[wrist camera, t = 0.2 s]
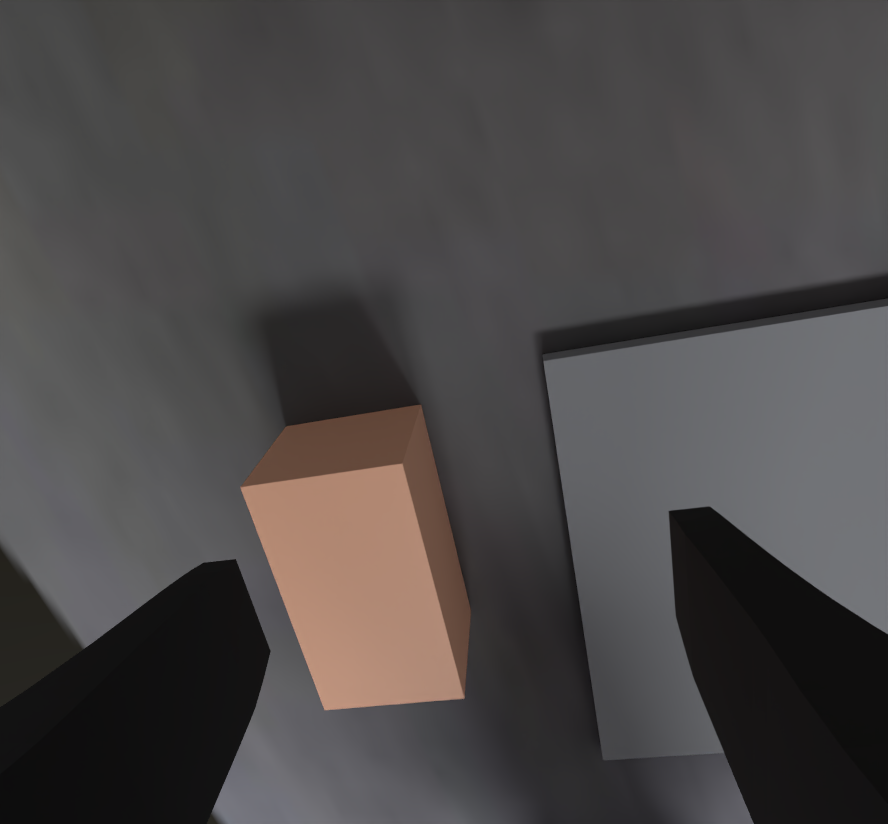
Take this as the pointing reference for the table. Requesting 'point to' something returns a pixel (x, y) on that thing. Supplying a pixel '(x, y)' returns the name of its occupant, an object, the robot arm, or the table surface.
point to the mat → (716, 489)
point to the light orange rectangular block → (365, 558)
